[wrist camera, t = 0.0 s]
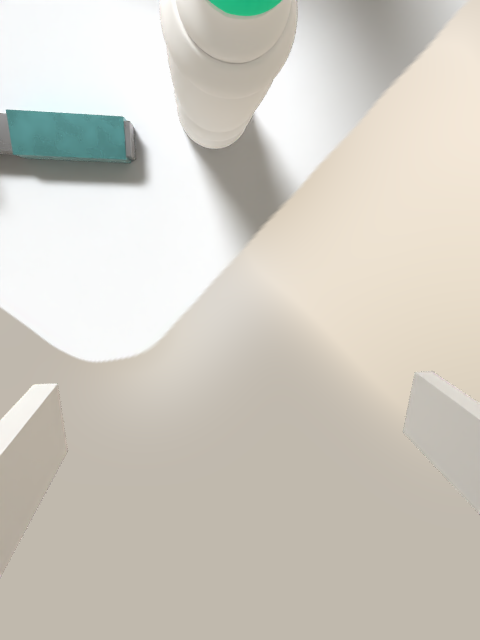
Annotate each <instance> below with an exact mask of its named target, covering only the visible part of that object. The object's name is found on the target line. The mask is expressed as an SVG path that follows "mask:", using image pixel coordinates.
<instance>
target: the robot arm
mask: <svg viewBox="0 0 480 640" xmlns="http://www.w3.org/2000/svg"><path fill="white" fill-rule="evenodd" d="M63 422H64V421H63V415H62V408H61V402H60V396H59V388H58V384H34V385H33V386H32V387H31V388H30V389H29V390H28V391H27V392H26V393H25V395H23V397H21V399H20V400H19V401H18V402H17V403H16V404H15V405H14V406H13V407H12V408H11V409H10V410H9V411H8V412H7V414H6V415H5V416H4V417H3V418H2V419H1V420H0V578H1V576H2V574H3V572H4V570H5V568H6V566H7V565H8V563H9V561H10V559H11V557H12V555H13V553H14V551H15V550H16V548H17V546H18V544H19V542H20V540H21V538H22V536H23V534H24V533H25V531H26V529H27V527H28V525H29V523H30V521H31V520H32V517H33V516H34V514H35V512H36V510H37V508H38V506H39V504H40V502H41V501H42V499H43V497H44V495H45V493H46V491H47V490H48V487H49V485H50V484H51V482H52V480H53V478H54V476H55V474H56V473H57V471H58V469H59V467H60V465H61V463H62V461H63V459H64V457H65V456H66V454H67V452H68V448H67V441H66V435H65V428H64V423H63ZM403 433H404V434H405V435H406V436H407V437H408V438H409V440H410V441H411V442H412V443H413V444H414V445H415V446H416V447H417V448H418V449H419V450H420V451H421V453H422V454H423V455H424V456H426V458H427V459H428V460H429V461H430V462H431V463H432V464H433V465H434V467H435V468H436V469H437V470H438V471H439V472H440V473H441V474H442V475H443V476H444V477H445V478H446V479H447V480H448V482H449V483H450V484H451V485H452V486H453V487H454V488H455V489H456V490H457V491H458V492H459V493H460V494H461V496H462V497H463V498H464V499H465V500H466V501H467V502H468V503H469V504H470V505H471V506H472V507H473V508H474V509H475V511H476V512H477V513H478V514H479V515H480V403H479V402H477V401H476V400H474V399H473V398H471V397H470V396H469V395H467V394H466V393H464V392H463V391H461V390H460V389H458V388H457V387H455V386H454V385H452V384H451V383H449V382H448V381H447V380H445V379H444V378H442V377H441V376H439V375H438V374H436V373H435V372H433V371H428V372H415V374H414V379H413V384H412V389H411V394H410V399H409V404H408V408H407V413H406V418H405V423H404V428H403Z"/></svg>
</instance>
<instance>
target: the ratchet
mask: <svg viewBox="0 0 480 640" xmlns="http://www.w3.org/2000/svg"><path fill="white" fill-rule="evenodd" d="M0 154H13V155H16V156H20V157H23V158H29V159H51V160H74V161H96V162H119V163H131V160H136V156H135V140H134V127H133V125H132V124H131V123H130V121H126V120H125V118H124V117H121V116H104V115H88V114H71V113H55V112H38V111H22V110H6V114H3V113H0Z"/></svg>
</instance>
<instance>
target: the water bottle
mask: <svg viewBox="0 0 480 640" xmlns="http://www.w3.org/2000/svg"><path fill="white" fill-rule="evenodd" d="M160 20H161V27H162V31H163V36H164V39H165V42H166V45H167V54H168V62H169V68H170V73H171V78H172V82H173V86H174V93H175V100H176V104H177V112H178V117H179V120H180V123H181V125H182V127H183V129H184V131H185V132H186V134H187V135H188V136H189V137H190V138H191V139H192V140H193V141H194V142H196V143H197V144H199V145H201V146H203V147H206V148H210V149H220V148H224V147H227V146H229V145H231V144H233V143H234V142H235V141H236V140H238V139H239V137H240V136H241V135H242V134H243V132H244V130H245V129H246V127H247V124H248V123H249V122H250V120H251V118H252V116H253V114H254V112H255V110H256V109H257V107H258V106H259V105H260V103H261V101H262V100H263V98H264V97H265V95H266V93H267V91H268V89H269V88H270V86H271V84H272V82H273V79H274V78H275V77H276V76H277V74H278V73H279V72H280V70H281V69H282V67H283V65H284V64H285V62H286V60H287V58H288V56H289V53H290V51H291V48H292V45H293V42H294V38H295V33H296V27H297V0H160Z"/></svg>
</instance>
